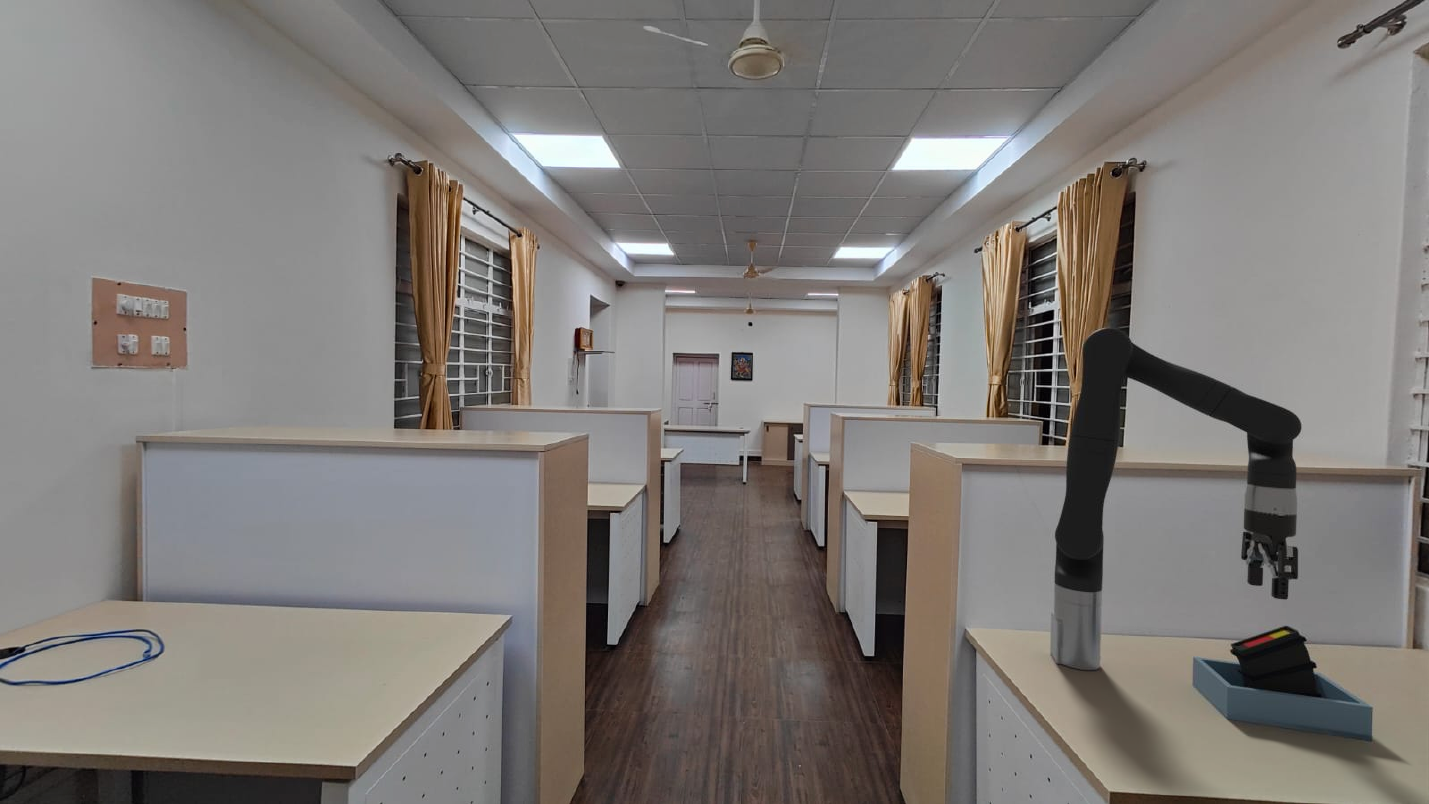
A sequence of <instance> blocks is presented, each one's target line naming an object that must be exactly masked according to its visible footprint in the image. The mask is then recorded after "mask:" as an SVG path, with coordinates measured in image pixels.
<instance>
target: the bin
mask: <svg viewBox="0 0 1429 804" xmlns="http://www.w3.org/2000/svg"><path fill="white" fill-rule="evenodd" d="M1240 668H1241V667H1240V663H1239V661H1237V662H1236V661H1230V660H1223V659H1222V660H1221V659H1213V658H1207V657H1199V656H1193V657H1192V683H1191V684H1192V686H1193V687H1194V688H1195V689H1196V690H1197V691H1198V692H1199V693H1200V694H1201V696H1203V697H1204V698H1205V699H1206V700H1207V701H1208V702H1209V703H1210V704H1211V706H1213V707H1214V708H1215V709H1216V710H1217V711H1218V712H1219V714H1221V715H1222V716H1223V717H1224V718H1225V719H1226V720H1231V721H1238V722H1244V723H1245V722H1246V723H1251V724H1256V725H1257V724H1258V725H1264V726H1270V727H1275V728H1276V727H1277V728H1284V729H1290V730H1296V731H1303V732H1309V733H1315V734H1320V735H1321V734H1322V735H1329V736H1334V737H1335V736H1336V737H1341V738H1342V737H1343V738H1348V739H1354V740H1361V741H1367V742H1372V741H1373V709H1374V707H1373V706H1372V705H1370V704H1368V703H1367V702H1365V701H1364V700H1362V699H1361V698H1359V697H1357V696H1356V695H1354V694H1353V693H1351V692H1350V691H1349V690H1347V689H1345V688H1344V687H1342V686H1341V685H1339V684H1337V683H1336V682H1334V681H1333V680H1331V679H1330V678H1329V677H1326V676H1325V675H1324V674H1322V673H1321V672H1315V671H1314V674H1315V679H1316V688H1317V692H1319V693H1320V694H1321V698H1317V697H1310V696H1303V695H1296V694H1289V693H1282V692H1274V691H1267V690H1260V689H1253V688H1246V687H1240V686H1244V684H1243V675H1242V674H1241V673H1239V672H1238V669H1240Z"/></svg>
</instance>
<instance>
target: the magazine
mask: <svg viewBox="0 0 1429 804" xmlns="http://www.w3.org/2000/svg"><path fill="white" fill-rule="evenodd" d="M1307 641H1308V640H1307V639H1306V637H1305V636H1303V635H1301V634H1300V632H1299V631H1298V630H1297V629H1296V628H1293V627H1290V626H1288V625H1282V626H1281V627H1277V628H1275V629H1272V630H1271V629H1270V630H1269V631H1266V632H1263V633H1259V634H1257V635H1254V636H1250V637H1248V638H1245V639H1243V640H1239V641H1237V642H1233V643H1230V646H1231V648H1232V649H1229V651H1230V653H1231V655H1233V656H1235V657H1236V658H1237V662H1239V663H1240V667H1241V668H1240V669H1238V672H1239V673H1241V674H1242V675H1243V684H1244V686H1240V687H1246V688H1253V689H1260V690H1267V691H1274V692H1282V693H1289V694H1296V695H1303V696H1310V697H1317V698H1321V694H1320V693H1319V692H1317V688H1316V679H1315V674H1314V672H1315V671H1314V669H1317V668H1318V666H1317V663H1316V662H1315V661H1313V660H1311V658H1310V653H1309V651H1308V648H1307V646H1306V644H1305V642H1307Z"/></svg>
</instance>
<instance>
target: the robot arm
mask: <svg viewBox="0 0 1429 804" xmlns="http://www.w3.org/2000/svg"><path fill="white" fill-rule="evenodd" d="M1081 373H1082V374H1081V387H1080V393H1079V397H1078V401H1077V403H1076V404H1077V405H1076V407H1075V411H1074V414H1073V419H1072V423H1071V430H1070V434H1069V440H1068V445H1067V456H1066V473H1065V474H1066V475H1065V476H1066V477H1065V478H1066V481H1065V484H1066V485H1065V486H1066V487H1065V497H1064V501H1063V505H1062V509H1061V513H1060V517H1059V520H1058V523H1057V526H1056V529H1055V530H1054V531H1055V532H1054V539H1055V542H1056V545H1055V564H1054V565H1055V566H1054V581H1053V582H1054V588H1053V589H1054V591H1053V593H1054V594H1053V612H1051V614H1050V645H1049V646H1050V647H1049V648H1050V650H1049V653H1050V655H1051V657H1052V658H1053V660H1054V662H1055V664H1058V665H1059V664H1060V665H1062V666H1063V665H1064V666H1066V667H1069V668H1072V669H1076V670H1083V671H1096V670H1099V669H1100V668H1101V661H1102V660H1101V659H1102V658H1101V657H1102V656H1101V645H1102V644H1101V643H1102V609H1103V608H1102V607H1103V606H1102V605H1103V577H1104V574H1103V573H1104V565H1103V564H1104V541H1105V539H1104V530H1103V522H1104V521H1103V520H1104V519H1103V517H1104V506H1105V505H1104V504H1105V499H1106V496H1107V492H1108V489H1109V486H1110V482H1111V479H1112V475H1113V472H1114V469H1115V465H1116V460H1117V455H1118V450H1119V444H1120V443H1119V441H1120V435H1121V434H1120V433H1121V432H1120V431H1121V395H1122V394H1121V393H1122V387H1123V382H1124V379H1125V378H1128V379H1130V380H1132V381H1133V380H1134V381H1136V382H1139V383H1141V384H1143V385H1145V386H1146V387H1147V386H1148V387H1150V388H1152V389H1154V390H1156V391H1158V392H1159V393H1162V394H1163V395H1166V396H1167V397H1169V398H1171V399H1172V400H1175V401H1177V402H1179V403H1181V404H1183V405H1185V406H1186V407H1189V408H1191V409H1192V410H1195V411H1197V412H1199V413H1201V414H1204V415H1206V416H1209V417H1210V418H1212V419H1215V420H1218V421H1220V422H1224V423H1227V424H1229V425H1232V426H1233V427H1235V428H1237V429H1239V430H1240V431H1242V432H1246V440H1247V450H1248V451H1247V452H1248V463H1247V471H1246V472H1247V475H1246V476H1247V477H1246V479H1247V480H1246V488H1245V493H1244V508H1243V509H1244V510H1243V529H1244V530H1245V531H1243V532H1242V537H1241V538H1242V539H1241V540H1242V541H1241V556H1240V558H1241V560H1242V561H1245V564H1246V566H1247V579H1246V581H1247V582H1246V583H1247V584H1249V585H1251V586H1257V587H1262V586H1263V585H1264V584H1263V583H1264V568H1263V567H1264V566H1266V567H1267V568H1268V569H1270V572H1271V576H1272V578H1271V592H1270V593H1271V597H1272V598H1274V599H1277V600H1288V598H1289V585H1290V584H1289V582H1290V581H1291V580H1298V578H1299V548H1298V547H1297V546H1291V545H1288V543H1287V538H1293V537H1295V536H1296V535H1297V519H1298V518H1297V517H1298V516H1297V515H1298V514H1297V513H1298V497H1297V465H1296V461H1295V460H1294V458H1293V452H1294V440H1296V439H1297V437H1298V436H1299V435H1300V434H1301V432H1302V422H1301V419H1300V418H1299V417H1298V415H1296V414H1295V413H1294V412H1293V411H1291V410H1290V409H1287V408H1285V407H1283V406H1280V405H1278V404H1275V403H1272V402H1270V401H1268V400H1264V399H1262V398H1259V397H1256V396H1253V395H1250V394H1247V393H1246V392H1243V391H1242V390H1240V389H1238V388H1236V387H1234V386H1232V385H1229V384H1227V383H1226V382H1222V381H1220V380H1218V379H1216V378H1213V377H1211V376H1208V375H1206V374H1204V373H1200V372H1198V371H1195V370H1193V369H1189V368H1187V367H1183V366H1180V365H1178V364H1176V363H1172V362H1169V361H1167V360H1164V359H1163V358H1160V357H1158V356H1156V355H1154V354H1151V353H1150V352H1148V351H1146V350H1144V349H1143V348H1141V347H1139V346H1138V345H1137V344H1135V343H1134V342H1133V341H1132V339H1131V338H1130V336H1129V335H1128V334H1126V333H1125V332H1124V331H1123V330H1121V329H1118V328H1115V327H1103V328H1100V329H1098V330H1097V329H1096V330H1095V331H1093V332H1092V333H1091V334H1089V335H1088V336H1087V337H1086V339H1085V340H1084V342H1083V345H1082V372H1081Z"/></svg>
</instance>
